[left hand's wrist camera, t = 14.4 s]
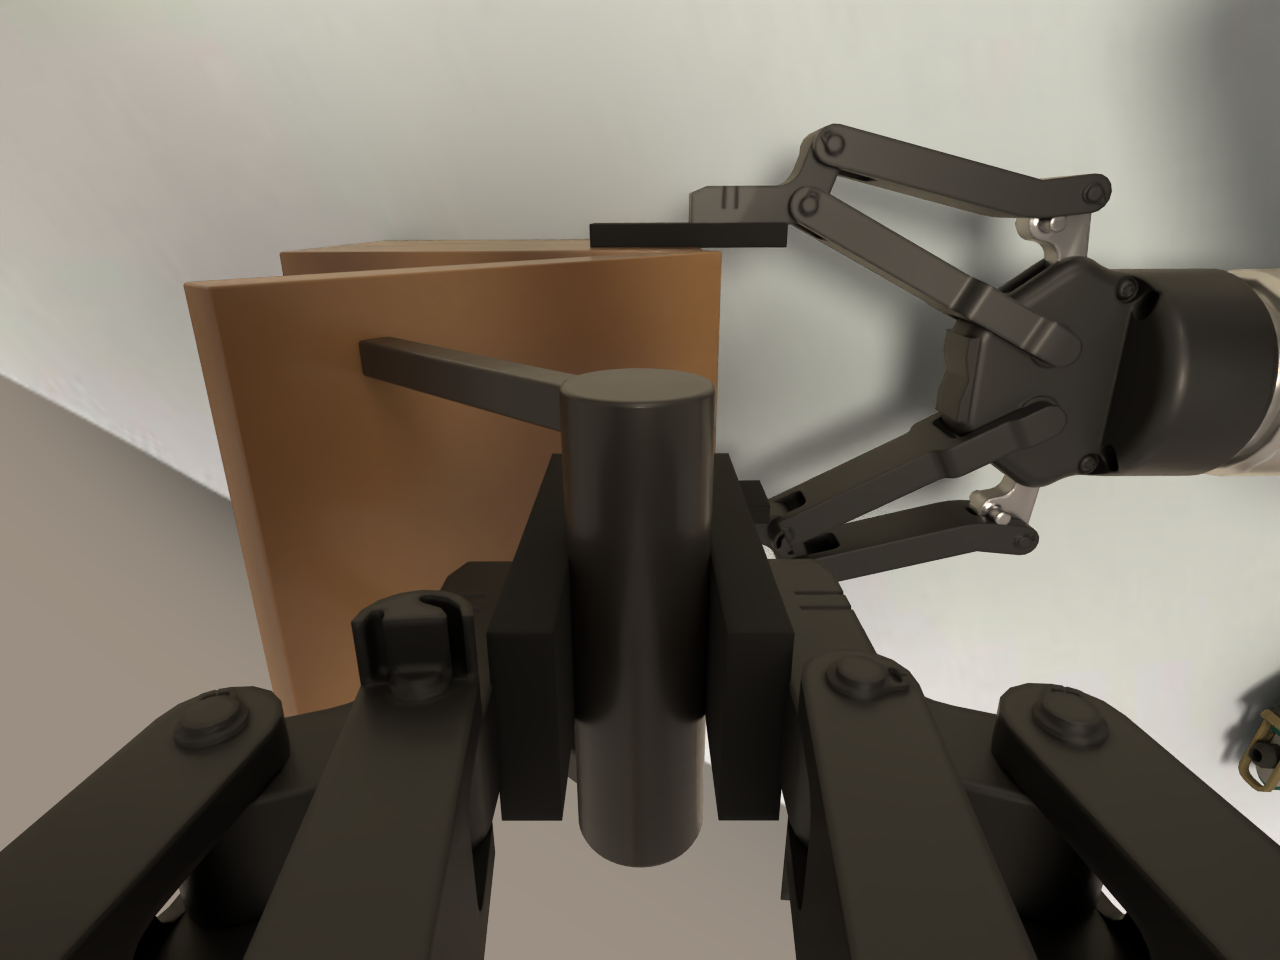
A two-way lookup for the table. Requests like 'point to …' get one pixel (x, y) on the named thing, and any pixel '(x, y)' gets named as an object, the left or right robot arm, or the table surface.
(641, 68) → the table surface
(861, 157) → the right robot arm
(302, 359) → the lid
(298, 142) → the table surface
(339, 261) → the chest
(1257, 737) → the spray gun
